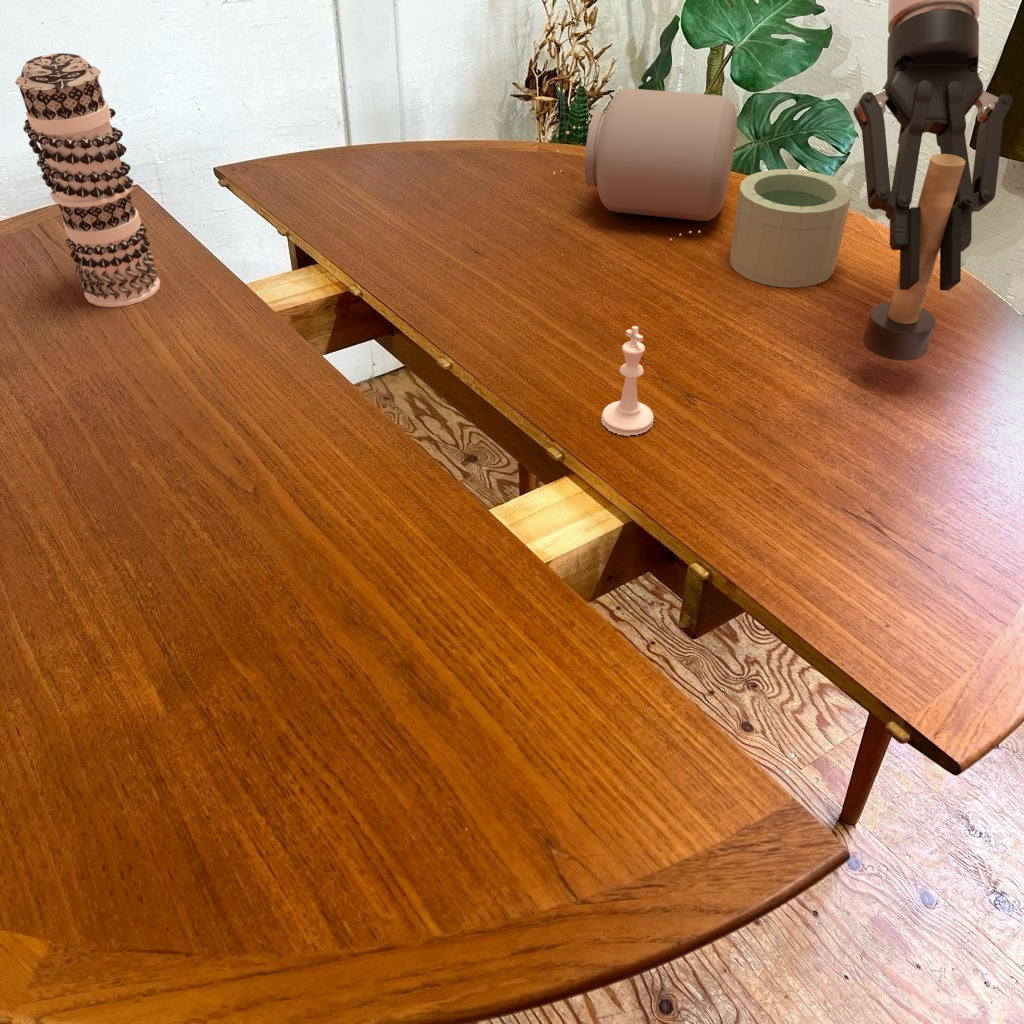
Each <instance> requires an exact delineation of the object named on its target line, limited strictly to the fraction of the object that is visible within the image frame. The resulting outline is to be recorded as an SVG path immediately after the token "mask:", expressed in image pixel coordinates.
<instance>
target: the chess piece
mask: <svg viewBox="0 0 1024 1024" xmlns="http://www.w3.org/2000/svg"><path fill="white" fill-rule="evenodd" d="M625 336H627V337H628V338H630V341H626V342H624V343H623V344H622V347H621V350H622V353H623V356H624V361H625V363H623V364H622V365H621V366H620V369H619V373H620V374H621V375H622V376H624V377H625V379H624V383H623V389H622V392H621V396H620V400H617V401H613V402H611V403H609V404H607V406H605V407H604V409H603V410H602V412H601V413H602V414H601V417H602V418H600V420H601V424H602V426H603V427H604V426H605V427H606V428H607V429H608V430H607V429H606V428H605V427H604V428H605V429H606V430H607V431H609V432H610V431H611V432H610V433H612V432H613V433H612V434H615V433H617V434H616V435H619V436H623V435H624V437H631V436H630V435H636V436H639V435H638V434H641V433H643V432H646V431H647V430H648V429H650V427H652V428H653V426H652V424H653V421H654V422H655V420H653V419H654V413H653V411H652V409H651V408H650V407H649V406H648V405H646V404H644V403H642V402H640V401H639V400H638V399H639V398H638V383H637V380H638V379H637V378H639V377H640V376H642V375H643V374H644V371H645V370H644V368H643V366H642V365H641V364H640V361H641V359H642V357H643V355H644V353H645V350H646V347H645V345H644V344H643V343H642V342H643V341H644V336H643V335H642V334H639V326H636V325H633V326H631V329H630V328H629V329H626V330H625ZM653 425H654V424H653ZM650 430H651V429H650ZM647 432H648V431H647ZM647 432H646V433H647ZM621 434H622V435H621ZM641 435H642V434H641Z"/></svg>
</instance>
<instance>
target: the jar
mask: <svg viewBox="0 0 1024 1024" xmlns="http://www.w3.org/2000/svg"><path fill="white" fill-rule="evenodd" d="M599 107H603V103H600V105H599ZM737 114H738V113H737V109H736V106H735V104H734V102H733V101H732V100H731V99H730V98H728V97H727V96H724V95H719V94H705V93H695V92H694V93H692V92H680V91H667V90H654V89H642V88H623V89H622V90H619V91H618V92H617V93H616V94H615V95H613V97H612V98H611V100H610V101H609V103H608V105H607V108H606V109H605V110H604V111H602V110H595V111H594V113H593V114H592V117H591V119H590V123H589V121H588V120H587V121H586V122H585V123H586V124H589V127H588V132H587V137H586V144H585V155H584V176H585V183H586V186H588V187H594V188H596V187H597V193H598V194H597V195H598V196H599V199H600V201H601V203H602V205H603V206H604V207H605V208H606V209H607V210H608V211H610V212H613V213H620V214H629V215H637V216H649V217H659V218H666V219H667V218H669V219H676V220H686V221H694V222H695V221H696V222H709V221H710V220H712V219H714V218H716V216H717V215H718V214H719V213H720V212H721V211H722V208H723V205H724V203H725V201H726V200H725V199H726V196H727V193H728V188H729V184H730V183H729V182H730V177H731V173H732V172H731V171H732V165H733V159H734V154H735V145H736V140H737V139H736V138H737V130H738V129H737V128H738V115H737ZM577 129H578V130H580V129H581V126H578V128H577ZM572 130H576V126H575V125H574V126H572ZM565 133H566V136H568V135H570V131H569V130H567V131H566V132H565ZM545 138H546V137H545V135H542V136H541V140H545ZM546 140H547V142H551V141H552V137H550V136H549V137H547V139H546ZM556 153H558V154H559V153H560V150H556ZM562 172H563V169H560V170H559V173H562ZM552 175H554V176H555V175H557V172H556V171H553V172H552ZM688 233H689V234H692V233H693V232H692V230H690V231H689V232H688ZM697 233H698V234H701V230H698V231H697ZM678 235H679V236H680V237H681V236H682V233H679V234H678ZM669 241H670V242H672V241H673V238H669Z"/></svg>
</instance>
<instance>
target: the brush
mask: <svg viewBox="0 0 1024 1024" xmlns="http://www.w3.org/2000/svg"><path fill="white" fill-rule="evenodd" d="M964 166H965V160H964V159H963V158H961V157H959V156H955V155H951V154H941V153H938V154H937V153H936V154H933V155H932V156H931V157H930V158H929V162H928V166H927V170H926V174H925V177H924V180H923V185H922V188H921V191H920V195H919V199H918V202H917V206H916V207H920V261H919V281H918V282H917V283H916V284H914V285H913V286H912V287H911V288H910V289H908V290H900V270H899V272H898V275H897V278H896V282H895V286H894V290H893V294H892V297H891V300H890V301H887V302H881V303H879V304H876V305H874V306H873V307H872V308H871V309H870V311H869V315H868V318H867V322H866V326H865V330H864V333H863V337H862V343H863V345H864V347H865V348H866V349H867V350H868V351H870V352H871V353H873V354H874V355H876V356H878V357H881V358H884V359H887V360H892V361H901V362H902V361H903V362H907V361H915V360H918V359H921V358H922V357H924V356H925V355H926V354H927V353H928V350H929V347H930V344H931V341H932V339H933V338H932V337H933V334H934V331H935V328H936V326H937V319H936V317H935V316H934V315H933V313H932V312H930V311H929V310H927V309H925V308H923V305H924V303H925V299H926V296H927V293H928V289H929V285H930V282H931V279H932V276H933V273H934V269H935V266H936V262H937V259H938V255H939V254H940V246H941V243H942V239H943V236H944V233H945V229H946V226H947V223H948V219H949V216H950V213H951V209H952V206H953V203H954V199H955V196H956V193H957V189H958V186H959V183H960V179H961V176H962V173H963V169H964Z"/></svg>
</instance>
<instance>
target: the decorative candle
mask: <svg viewBox="0 0 1024 1024" xmlns="http://www.w3.org/2000/svg"><path fill="white" fill-rule="evenodd" d="M101 72H102V71H101V70H100V69H99V68H98V67H96V66H92V65H91V64H90V63H89V62H88V61H87V60H86V59H85V58H84V57H82V56H81V55H79V54H73V53H64V52H62V53H61V52H60V53H51V54H44V55H39V56H37V57H33V58H32V59H29V60H28V61H26V62H25V63H24V65H23V66H22V69H21V73H20V75H19V76H17V77H16V79H15V81H14V83H15V84H16V85H17V87H18V88H19V91H20V94H21V98H22V100H23V103H24V106H25V109H26V112H25V114H26V118H27V119H25V120H24V125H23V129H22V130H23V132H24V133H26V134H27V137H28V138H29V142H28V146H29V147H30V148H31V150H32V152H33V153H34V154H36V155H37V157H38V160H36V165H37V166H38V167H39V168H40V171H41V172H42V173H43V174H42V175H41V176H42V180H43V181H44V183H45V185H46V187H48V188H50V189H51V192H50V197H51V200H52V201H53V202H54V203H55V204H57V205H58V208H59V210H60V214H61V216H62V219H63V223H62V224H63V228H64V229H65V233H66V236H67V238H66V239H65V244H66V245H67V246H68V248H69V249H70V250H72V251H71V252H70V253H69V255H70V257H71V258H72V261H73V262H74V263H76V264H75V267H74V272H75V274H76V275H77V276H78V278H79V285H80V287H81V289H82V290H83V291H84V293H83V295H84V298H85V299H86V300H87V302H88V303H89V304H93V306H94V305H95V306H97V307H104V308H118V307H128V306H130V305H134V304H138V303H141V302H143V301H145V300H148V299H149V298H151V297H153V296H154V295H155V294H156V293H157V292H158V291H159V290H160V288H161V280H160V278H159V277H158V276H157V274H158V272H159V270H158V269H157V268H156V264H154V261H155V256H154V255H152V254H153V253H152V250H149V247H150V245H151V242H150V240H148V237H147V236H146V233H147V228H146V227H145V225H144V223H142V221H141V217H140V213H139V211H138V210H137V208H136V207H135V204H134V199H133V196H132V194H131V192H132V191H133V187H134V180H133V178H131V177H130V176H127V175H128V174H129V172H130V170H131V165H130V164H128V163H127V162H125V161H123V160H121V158H122V157H123V156H124V155H125V153H126V152H127V147H126V146H125V145H123V143H120V142H119V141H120V140H121V139H122V137H123V135H124V133H123V131H122V130H120V129H118V128H117V127H115V126H114V127H113V125H111V121H112V120H113V119H112V118H114V117H115V116H116V112H117V111H116V110H115V109H113V108H110V106H109V103H108V101H107V100H105V99H104V96H103V89H102V88H103V87H102V86H101V84H100V82H99V77H100V75H101ZM110 120H111V121H110Z"/></svg>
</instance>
